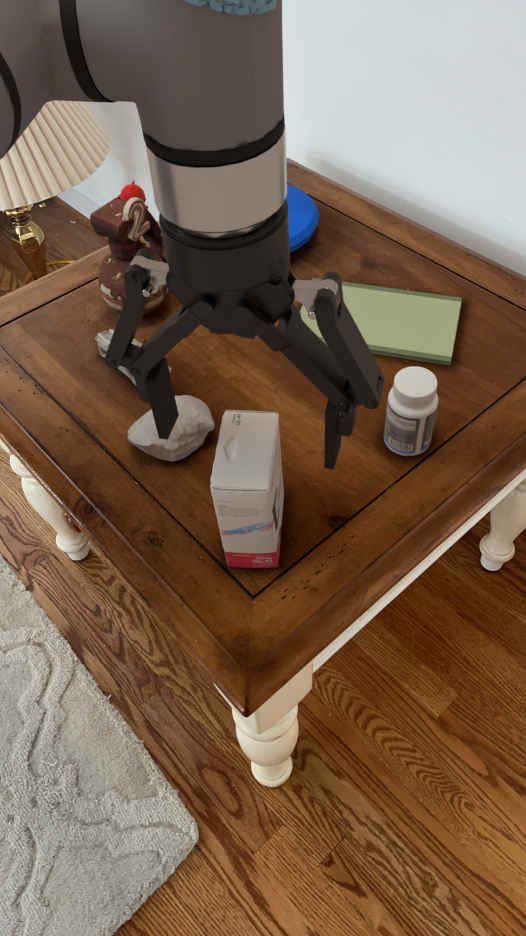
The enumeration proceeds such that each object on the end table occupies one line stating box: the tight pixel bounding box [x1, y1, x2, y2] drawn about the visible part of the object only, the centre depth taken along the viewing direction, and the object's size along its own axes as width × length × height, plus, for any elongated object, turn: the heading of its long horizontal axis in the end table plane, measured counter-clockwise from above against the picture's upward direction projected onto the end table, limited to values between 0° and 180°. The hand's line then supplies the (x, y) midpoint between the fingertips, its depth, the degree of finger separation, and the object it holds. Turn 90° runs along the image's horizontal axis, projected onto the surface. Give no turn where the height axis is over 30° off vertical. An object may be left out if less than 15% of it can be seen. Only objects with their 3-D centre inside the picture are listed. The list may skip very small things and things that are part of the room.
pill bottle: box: [383, 365, 439, 457], centre depth 72 cm, size 5×5×8 cm
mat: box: [299, 277, 463, 366], centre depth 86 cm, size 18×11×1 cm, turn 75°
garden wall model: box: [94, 328, 173, 386], centre depth 80 cm, size 12×2×6 cm, turn 44°
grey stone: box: [127, 394, 216, 462], centre depth 75 cm, size 9×8×5 cm
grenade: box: [89, 179, 169, 316], centre depth 84 cm, size 9×8×15 cm
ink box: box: [209, 409, 285, 569], centre depth 65 cm, size 9×5×12 cm, turn 174°
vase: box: [285, 183, 320, 254], centre depth 95 cm, size 16×16×7 cm
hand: (249, 441), depth 59 cm, fingers open, 13 cm apart
